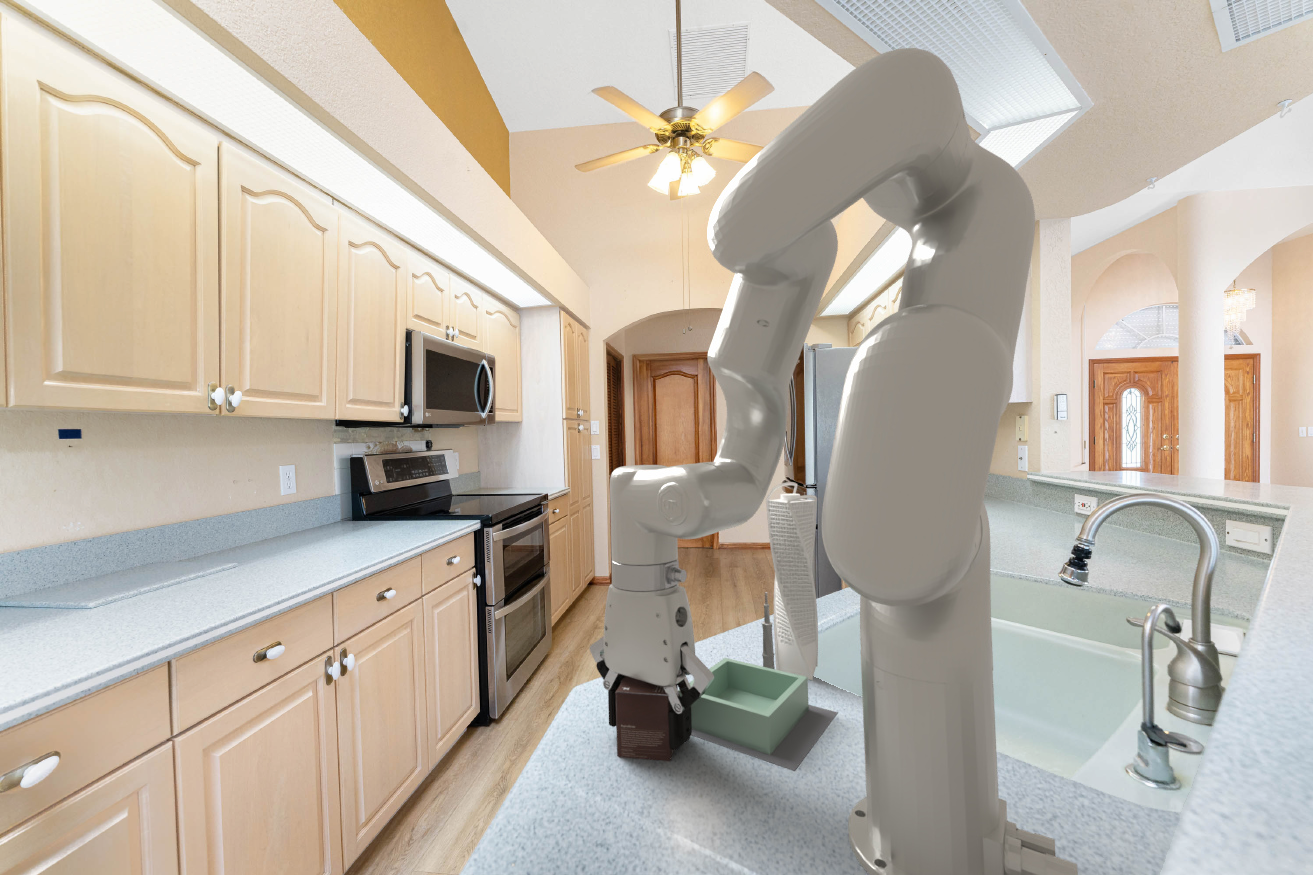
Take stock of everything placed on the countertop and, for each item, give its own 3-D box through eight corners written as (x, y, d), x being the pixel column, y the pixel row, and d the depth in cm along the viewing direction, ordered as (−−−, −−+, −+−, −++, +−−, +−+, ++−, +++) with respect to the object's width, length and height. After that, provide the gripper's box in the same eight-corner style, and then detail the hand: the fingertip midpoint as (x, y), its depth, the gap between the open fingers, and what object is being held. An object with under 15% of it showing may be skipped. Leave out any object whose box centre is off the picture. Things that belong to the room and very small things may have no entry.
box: (671, 765, 55) (668, 695, 56) (615, 760, 57) (613, 691, 57) (680, 734, 61) (678, 671, 61) (630, 730, 63) (628, 668, 63)
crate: (808, 709, 65) (807, 676, 65) (770, 754, 56) (768, 716, 56) (726, 687, 72) (725, 657, 72) (679, 724, 63) (678, 690, 63)
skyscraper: (771, 660, 82) (765, 481, 83) (825, 667, 79) (818, 481, 80) (762, 683, 75) (754, 485, 75) (821, 691, 72) (813, 485, 72)
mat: (837, 715, 64) (837, 712, 64) (794, 774, 53) (794, 770, 53) (710, 681, 75) (710, 678, 75) (651, 724, 64) (651, 721, 64)
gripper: (729, 577, 57) (733, 740, 57) (608, 560, 67) (611, 698, 67) (692, 593, 51) (697, 776, 51) (566, 572, 61) (569, 724, 61)
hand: (648, 731), depth 59 cm, fingers closed on box, 7 cm apart
